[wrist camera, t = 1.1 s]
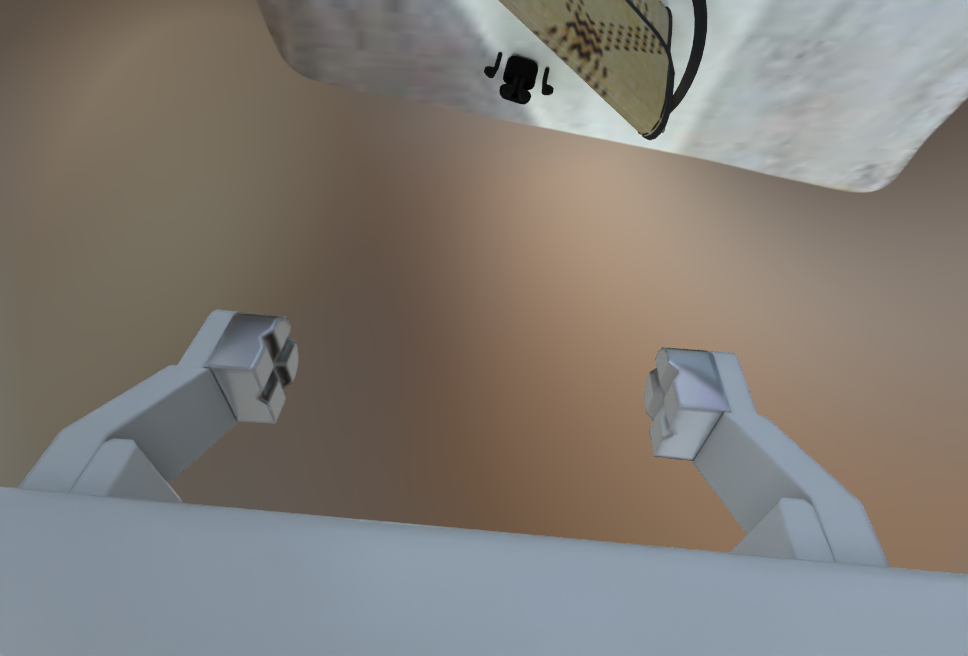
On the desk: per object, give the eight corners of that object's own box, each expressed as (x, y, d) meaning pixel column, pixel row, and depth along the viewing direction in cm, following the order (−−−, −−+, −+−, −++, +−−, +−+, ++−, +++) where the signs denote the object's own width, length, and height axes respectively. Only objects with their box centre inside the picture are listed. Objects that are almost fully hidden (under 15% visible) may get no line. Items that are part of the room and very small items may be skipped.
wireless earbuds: (559, 65, 53) (552, 100, 50) (551, 85, 55) (544, 120, 53) (491, 43, 52) (481, 78, 50) (486, 65, 54) (476, 99, 52)
